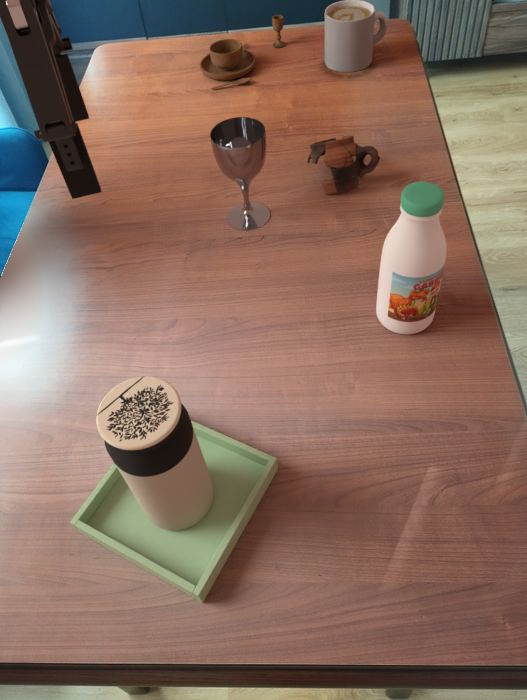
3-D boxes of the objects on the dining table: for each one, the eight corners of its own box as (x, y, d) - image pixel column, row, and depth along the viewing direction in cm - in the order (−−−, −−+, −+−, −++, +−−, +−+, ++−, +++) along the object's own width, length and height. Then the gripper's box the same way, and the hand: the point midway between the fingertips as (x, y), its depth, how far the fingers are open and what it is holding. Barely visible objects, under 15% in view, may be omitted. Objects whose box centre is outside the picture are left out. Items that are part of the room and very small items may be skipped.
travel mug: (228, 500, 64) (201, 413, 50) (168, 547, 61) (121, 468, 47) (188, 451, 68) (152, 358, 54) (130, 493, 66) (76, 407, 52)
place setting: (196, 55, 131) (191, 27, 127) (283, 40, 132) (281, 12, 128) (206, 93, 120) (201, 64, 116) (300, 76, 121) (299, 47, 117)
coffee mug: (330, 75, 121) (331, 24, 113) (319, 54, 127) (319, 4, 119) (393, 65, 121) (398, 13, 113) (380, 44, 127) (383, -7, 119)
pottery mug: (307, 199, 97) (298, 147, 94) (321, 189, 105) (313, 141, 102) (379, 187, 92) (372, 132, 89) (388, 177, 100) (381, 127, 97)
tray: (77, 531, 64) (69, 522, 62) (161, 415, 72) (156, 404, 70) (202, 603, 58) (198, 596, 56) (278, 468, 67) (277, 458, 65)
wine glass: (214, 216, 96) (199, 133, 84) (251, 194, 98) (241, 110, 87) (244, 239, 91) (233, 155, 80) (283, 215, 94) (277, 130, 82)
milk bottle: (365, 322, 79) (374, 202, 63) (391, 286, 83) (405, 164, 67) (418, 344, 76) (442, 223, 60) (443, 306, 79) (471, 182, 64)
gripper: (-59, -140, 49) (39, 101, 65) (-90, -42, 33) (48, 241, 50) (31, -156, 49) (105, 87, 66) (41, -66, 34) (134, 220, 51)
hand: (81, 154), depth 58 cm, fingers open, 13 cm apart
